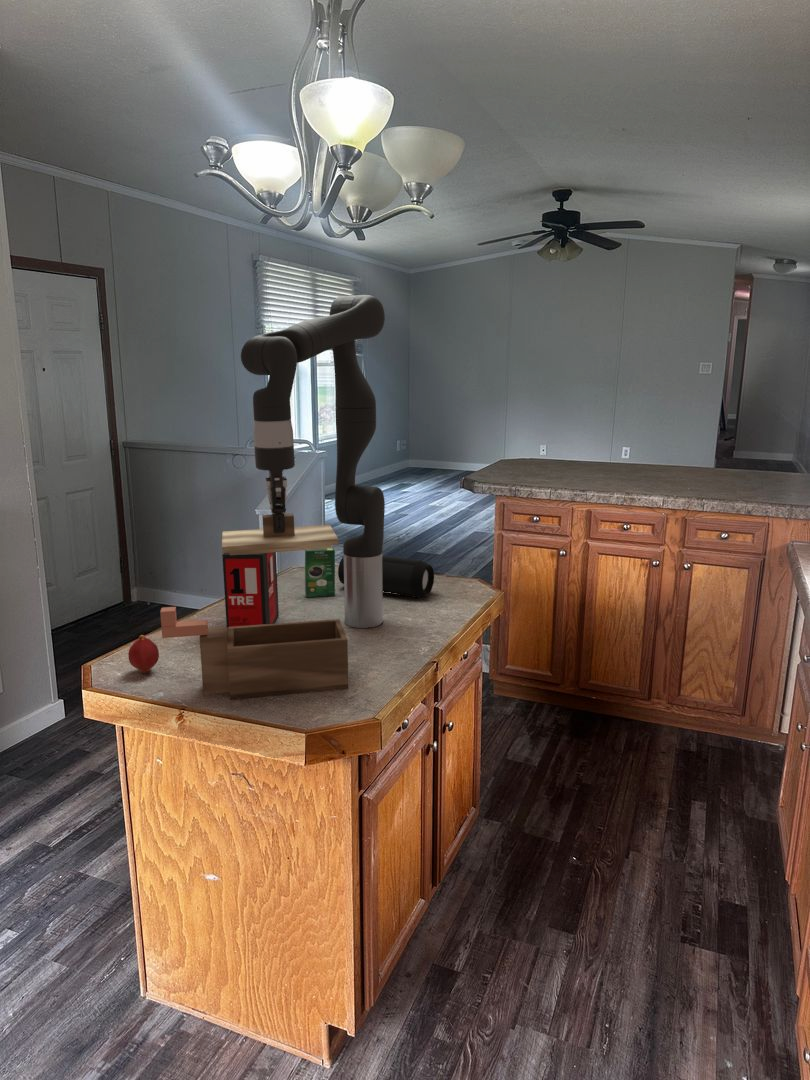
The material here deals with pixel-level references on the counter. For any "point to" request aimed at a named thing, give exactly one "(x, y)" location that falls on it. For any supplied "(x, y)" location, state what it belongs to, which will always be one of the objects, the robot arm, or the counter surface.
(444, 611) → the counter surface
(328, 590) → the coffee box
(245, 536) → the lid
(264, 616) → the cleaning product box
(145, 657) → the onion
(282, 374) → the robot arm
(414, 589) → the portable speaker
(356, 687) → the counter surface
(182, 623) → the l-shaped block
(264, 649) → the brown open box piece
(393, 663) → the counter surface
